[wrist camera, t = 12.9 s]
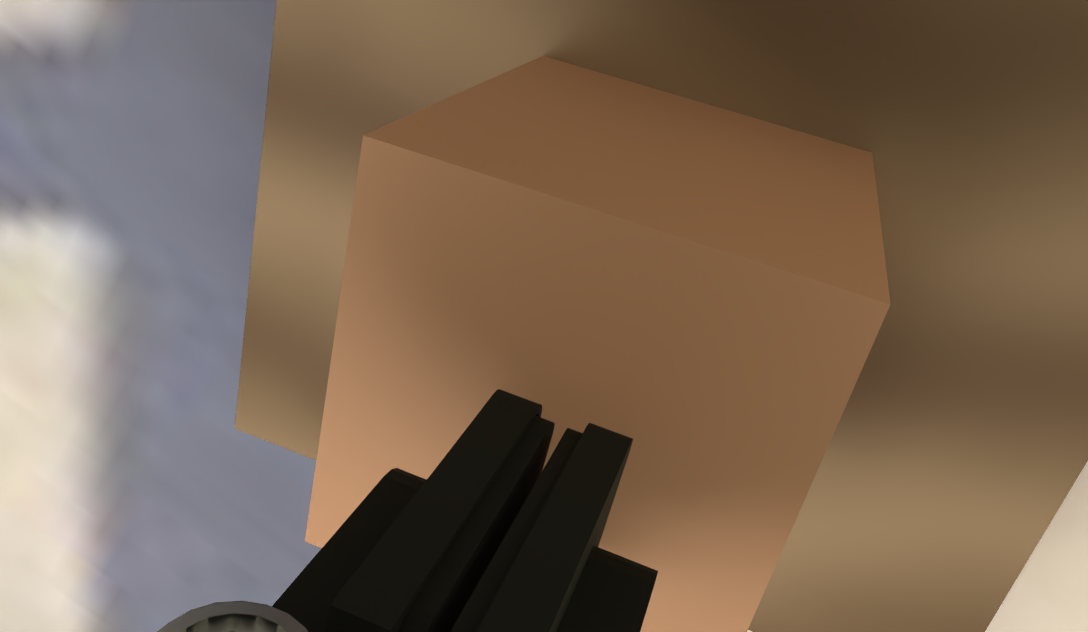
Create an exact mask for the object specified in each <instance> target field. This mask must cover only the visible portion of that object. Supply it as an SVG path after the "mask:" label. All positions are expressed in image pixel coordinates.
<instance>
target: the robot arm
mask: <svg viewBox="0 0 1088 632" xmlns="http://www.w3.org/2000/svg"><path fill="white" fill-rule="evenodd" d="M541 414H542V405H541V404H538V403H536V402H533V401H530V400H527V399H525V398H522V397H519V396H517V395H514V394H511V393H509V392H506V391H503V390H500V389H498V390H497V391H496V392H495V393H494V394H493V395H492V396H491V398H490V399H489V400H488V401H487V403H486V404H485V405H484V407H483V408H482V409H481V410H480V412H479V413H478V414H477V416H476V417H475V418H474V420H473V421H472V422H471V423H470V425H469V426H468V427H467V429H466V430H465V431H464V432H463V434H462V435H461V436H460V438H459V439H458V440H457V441H456V443H455V444H454V445H453V447H452V448H451V449H450V450H449V452H448V453H447V454H446V456H445V457H444V458H443V460H442V461H441V462H440V463H439V465H438V466H437V467H436V469H435V470H434V471H433V472H432V474H431V475H430V476H429V478H428V479H427V480H426V479H424V478H421V477H419V476H416V475H414V474H411V473H409V472H406V471H404V470H401V469H398V468H394V469H391V470H390V471H389V472H388V473H387V474H386V475H385V476H384V477H383V478H382V479H381V480H380V481H379V482H378V484H377V485H376V486H375V487H374V488H373V489H372V491H371V492H370V493H369V494H368V495H367V496H366V498H365V499H364V500H363V501H362V502H361V503H360V505H359V506H358V507H357V508H356V509H355V510H354V512H353V513H352V514H351V515H350V516H349V517H348V519H347V520H346V521H345V522H344V523H343V524H342V526H341V527H340V528H339V529H338V530H337V531H336V533H335V534H334V535H333V536H332V537H331V538H330V540H329V541H328V542H327V543H326V544H325V545H324V546H323V548H322V549H321V550H320V551H319V552H318V553H317V555H316V556H315V557H314V558H313V559H312V560H311V562H310V563H309V564H308V565H307V566H306V567H305V569H304V570H303V571H302V572H301V573H300V574H299V576H298V577H297V578H296V579H295V580H294V581H293V583H292V584H291V585H290V586H289V587H288V588H287V590H286V591H285V592H284V593H283V594H282V595H281V597H280V598H279V599H278V600H277V601H276V602H275V604H274V605H273V606H272V607H271V606H269V605H266V604H260V603H253V602H247V601H231V602H216V603H213V604H209V605H206V606H203V607H199V608H196V609H192V610H190V611H188V612H186V613H185V614H183V615H181V616H180V617H178V618H176V619H174V620H173V621H171V622H169V623H168V624H166V625H165V626H164V627H163V628H161V629H160V630H159V631H157V632H640V631H641V627H642V624H643V621H644V618H645V614H646V611H647V608H648V604H649V601H650V598H651V594H652V591H653V588H654V584H655V581H656V577H657V574H658V571H657V570H655V569H652V568H650V567H647V566H644V565H642V564H639V563H637V562H634V561H632V560H629V559H627V558H624V557H622V556H619V555H617V554H614V553H612V552H609V551H606V550H604V549H601V548H599V547H598V546H599V543H600V540H601V537H602V534H603V531H604V528H605V525H606V522H607V519H608V516H609V513H610V510H611V507H612V504H613V501H614V498H615V495H616V492H617V489H618V485H619V482H620V479H621V476H622V473H623V470H624V467H625V464H626V461H627V458H628V455H629V452H630V449H631V446H632V442H633V438H630V437H627V436H625V435H622V434H619V433H616V432H614V431H611V430H608V429H606V428H603V427H600V426H598V425H595V424H592V423H588V425H587V426H586V428H585V430H584V432H583V433H581V432H578V431H576V430H573V429H570V428H567V429H566V431H565V432H564V434H563V436H562V438H561V439H560V441H559V443H558V445H557V446H556V448H555V450H554V452H553V453H552V455H551V457H550V459H549V460H548V462H547V464H546V466H545V467H544V463H545V460H546V456H547V453H548V449H549V446H550V442H551V439H552V435H553V431H554V426H555V424H554V422H551V421H549V420H546V419H543V418H541ZM543 467H544V469H543ZM542 470H543V471H542Z"/></svg>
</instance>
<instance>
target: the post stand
mask: <svg viewBox="0 0 1088 632" xmlns="http://www.w3.org/2000/svg"><path fill="white" fill-rule="evenodd" d="M541 56H545V57H549V58H552V59H556V60H559V61H562V62H566V63H569V64H573V65H576V66H579V67H583V68H586V69H590V70H593V71H596V72H600V73H603V74H607V75H610V76H613V77H617V78H620V79H624V80H627V81H630V82H634V83H637V84H641V85H644V86H647V87H651V88H654V89H657V90H661V91H664V92H668V93H671V94H674V95H678V96H681V97H685V98H688V99H691V100H695V101H698V102H702V103H705V104H708V105H712V106H715V107H719V108H722V109H725V110H729V111H732V112H736V113H739V114H742V115H746V116H749V117H753V118H756V119H759V120H763V121H766V122H770V123H773V124H776V125H780V126H783V127H787V128H790V129H793V130H797V131H800V132H803V133H807V134H810V135H814V136H817V137H820V138H824V139H827V140H831V141H834V142H837V143H841V144H844V145H848V146H851V147H854V148H858V149H861V150H865V151H868V152H871V153H872V154H873V162H874V171H875V179H876V187H877V196H878V204H879V212H880V221H881V229H882V237H883V246H884V254H885V263H886V271H887V279H888V288H889V296H890V307H889V309H888V311H887V314H886V316H885V318H884V320H883V323H882V325H881V327H880V329H879V332H878V334H877V336H876V339H875V341H874V343H873V345H872V348H871V350H870V352H869V355H868V357H867V359H866V361H865V364H864V366H863V368H862V371H861V373H860V375H859V377H858V380H857V382H856V384H855V386H854V389H853V391H852V393H851V396H850V398H849V400H848V402H847V405H846V407H845V409H844V412H843V414H842V416H841V418H840V421H839V423H838V425H837V427H836V430H835V432H834V434H833V437H832V439H831V441H830V443H829V446H828V448H827V450H826V453H825V455H824V457H823V459H822V462H821V464H820V466H819V469H818V471H817V473H816V475H815V478H814V480H813V482H812V484H811V487H810V489H809V491H808V494H807V496H806V498H805V500H804V503H803V505H802V507H801V510H800V512H799V514H798V516H797V519H796V521H795V523H794V525H793V528H792V530H791V532H790V535H789V537H788V539H787V541H786V544H785V546H784V548H783V551H782V553H781V555H780V557H779V560H778V562H777V564H776V567H775V569H774V571H773V573H772V576H771V578H770V580H769V582H768V585H767V587H766V589H765V592H764V594H763V596H762V598H761V601H760V603H759V605H758V608H757V610H756V612H755V614H754V617H753V619H752V621H751V623H750V626H749V628H748V630H750V631H753V632H985V630H986V629H987V627H988V625H989V624H990V622H991V620H992V619H993V617H994V615H995V614H996V612H997V610H998V609H999V607H1000V605H1001V604H1002V602H1003V600H1004V599H1005V597H1006V595H1007V594H1008V592H1009V590H1010V589H1011V587H1012V585H1013V584H1014V582H1015V580H1016V579H1017V577H1018V575H1019V574H1020V572H1021V570H1022V569H1023V567H1024V565H1025V564H1026V562H1027V560H1028V559H1029V557H1030V555H1031V554H1032V552H1033V550H1034V549H1035V547H1036V545H1037V544H1038V542H1039V540H1040V539H1041V537H1042V535H1043V534H1044V532H1045V531H1046V529H1047V527H1048V526H1049V524H1050V522H1051V521H1052V519H1053V517H1054V516H1055V514H1056V512H1057V511H1058V509H1059V507H1060V506H1061V504H1062V502H1063V501H1064V499H1065V497H1066V496H1067V494H1068V492H1069V491H1070V489H1071V487H1072V486H1073V484H1074V482H1075V481H1076V479H1077V477H1078V476H1079V474H1080V472H1081V471H1082V469H1083V467H1084V466H1085V464H1086V462H1087V461H1088V0H277V2H276V13H275V23H274V33H273V43H272V53H271V63H270V74H269V84H268V94H267V104H266V114H265V124H264V135H263V145H262V155H261V165H260V175H259V185H258V196H257V206H256V216H255V226H254V236H253V247H252V257H251V267H250V277H249V287H248V297H247V308H246V318H245V328H244V338H243V348H242V358H241V369H240V379H239V389H238V399H237V409H236V419H235V429H238V430H240V431H243V432H245V433H248V434H250V435H253V436H255V437H258V438H261V439H263V440H266V441H268V442H271V443H273V444H276V445H278V446H281V447H284V448H286V449H289V450H291V451H294V452H296V453H299V454H301V455H304V456H306V457H309V458H312V459H314V460H317V454H318V447H319V440H320V433H321V426H322V419H323V412H324V405H325V398H326V391H327V384H328V377H329V370H330V363H331V356H332V349H333V342H334V335H335V328H336V321H337V314H338V307H339V300H340V293H341V286H342V279H343V272H344V265H345V258H346V251H347V244H348V237H349V230H350V223H351V216H352V209H353V202H354V195H355V188H356V181H357V174H358V167H359V160H360V153H361V146H362V139H363V135H365V134H367V133H369V132H372V131H374V130H376V129H378V128H381V127H383V126H385V125H388V124H390V123H392V122H394V121H397V120H399V119H401V118H403V117H406V116H408V115H410V114H412V113H415V112H417V111H419V110H421V109H424V108H426V107H428V106H431V105H433V104H435V103H437V102H440V101H442V100H444V99H446V98H449V97H451V96H453V95H455V94H458V93H460V92H462V91H464V90H467V89H469V88H471V87H473V86H476V85H478V84H480V83H483V82H485V81H487V80H489V79H492V78H494V77H496V76H498V75H501V74H503V73H505V72H507V71H510V70H512V69H514V68H516V67H519V66H521V65H523V64H526V63H528V62H530V61H532V60H535V59H537V58H539V57H541Z"/></svg>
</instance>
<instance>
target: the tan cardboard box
mask: <svg viewBox="0 0 1088 632" xmlns="http://www.w3.org/2000/svg"><path fill="white" fill-rule="evenodd" d="M889 307H890V296H889V288H888V279H887V271H886V263H885V254H884V246H883V237H882V229H881V221H880V212H879V204H878V196H877V187H876V179H875V171H874V162H873V154H872V153H871V152H868V151H865V150H861V149H858V148H854V147H851V146H848V145H844V144H841V143H837V142H834V141H831V140H827V139H824V138H820V137H817V136H814V135H810V134H807V133H803V132H800V131H797V130H793V129H790V128H787V127H783V126H780V125H776V124H773V123H770V122H766V121H763V120H759V119H756V118H753V117H749V116H746V115H742V114H739V113H736V112H732V111H729V110H725V109H722V108H719V107H715V106H712V105H708V104H705V103H702V102H698V101H695V100H691V99H688V98H685V97H681V96H678V95H674V94H671V93H668V92H664V91H661V90H657V89H654V88H651V87H647V86H644V85H641V84H637V83H634V82H630V81H627V80H624V79H620V78H617V77H613V76H610V75H607V74H603V73H600V72H596V71H593V70H590V69H586V68H583V67H579V66H576V65H573V64H569V63H566V62H562V61H559V60H556V59H552V58H549V57H545V56H541V57H539V58H537V59H535V60H532V61H530V62H528V63H526V64H523V65H521V66H519V67H516V68H514V69H512V70H510V71H507V72H505V73H503V74H501V75H498V76H496V77H494V78H492V79H489V80H487V81H485V82H483V83H480V84H478V85H476V86H473V87H471V88H469V89H467V90H464V91H462V92H460V93H458V94H455V95H453V96H451V97H449V98H446V99H444V100H442V101H440V102H437V103H435V104H433V105H431V106H428V107H426V108H424V109H421V110H419V111H417V112H415V113H412V114H410V115H408V116H406V117H403V118H401V119H399V120H397V121H394V122H392V123H390V124H388V125H385V126H383V127H381V128H378V129H376V130H374V131H372V132H369V133H367V134H365V135H363V139H362V146H361V153H360V160H359V167H358V174H357V181H356V188H355V195H354V202H353V209H352V216H351V223H350V230H349V237H348V244H347V251H346V258H345V265H344V272H343V279H342V286H341V293H340V300H339V307H338V314H337V321H336V328H335V335H334V342H333V349H332V356H331V363H330V370H329V377H328V384H327V391H326V398H325V405H324V412H323V419H322V426H321V433H320V440H319V447H318V454H317V461H316V468H315V475H314V482H313V489H312V496H311V503H310V510H309V517H308V524H307V531H306V538H305V541H306V542H308V543H310V544H313V545H315V546H318V547H320V548H323V546H324V545H325V544H326V543H327V542H328V541H329V540H330V538H331V537H332V536H333V535H334V534H335V533H336V531H337V530H338V529H339V528H340V527H341V526H342V524H343V523H344V522H345V521H346V520H347V519H348V517H349V516H350V515H351V514H352V513H353V512H354V510H355V509H356V508H357V507H358V506H359V505H360V503H361V502H362V501H363V500H364V499H365V498H366V496H367V495H368V494H369V493H370V492H371V491H372V489H373V488H374V487H375V486H376V485H377V484H378V482H379V481H380V480H381V479H382V478H383V477H384V476H385V475H386V474H387V473H388V472H389V471H390V470H391V469H394V468H398V469H401V470H404V471H406V472H409V473H411V474H414V475H416V476H419V477H421V478H424V479H426V480H427V479H428V478H429V476H430V475H431V474H432V472H433V471H434V470H435V469H436V467H437V466H438V465H439V463H440V462H441V461H442V460H443V458H444V457H445V456H446V454H447V453H448V452H449V450H450V449H451V448H452V447H453V445H454V444H455V443H456V441H457V440H458V439H459V438H460V436H461V435H462V434H463V432H464V431H465V430H466V429H467V427H468V426H469V425H470V423H471V422H472V421H473V420H474V418H475V417H476V416H477V414H478V413H479V412H480V410H481V409H482V408H483V407H484V405H485V404H486V403H487V401H488V400H489V399H490V398H491V396H492V395H493V394H494V393H495V392H496V391H497V390H498V389H500V390H503V391H506V392H509V393H511V394H514V395H517V396H519V397H522V398H525V399H527V400H530V401H533V402H536V403H538V404H541V405H542V414H541V418H543V419H546V420H549V421H551V422H554V424H555V426H554V431H553V435H552V439H551V442H550V446H549V449H548V453H547V456H546V460H545V463H544V467H545V466H546V464H547V462H548V460H549V459H550V457H551V455H552V453H553V452H554V450H555V448H556V446H557V445H558V443H559V441H560V439H561V438H562V436H563V434H564V432H565V431H566V429H567V428H570V429H573V430H576V431H578V432H581V433H583V432H584V430H585V428H586V426H587V425H588V423H592V424H595V425H598V426H600V427H603V428H606V429H608V430H611V431H614V432H616V433H619V434H622V435H625V436H627V437H630V438H633V442H632V446H631V449H630V452H629V455H628V458H627V461H626V464H625V467H624V470H623V473H622V476H621V479H620V482H619V485H618V489H617V492H616V495H615V498H614V501H613V504H612V507H611V510H610V513H609V516H608V519H607V522H606V525H605V528H604V531H603V534H602V537H601V540H600V543H599V546H598V547H599V548H601V549H604V550H606V551H609V552H612V553H614V554H617V555H619V556H622V557H624V558H627V559H629V560H632V561H634V562H637V563H639V564H642V565H644V566H647V567H650V568H652V569H655V570H657V571H658V574H657V577H656V581H655V584H654V588H653V591H652V594H651V598H650V601H649V604H648V608H647V611H646V614H645V618H644V621H643V624H642V627H641V631H640V632H747V630H748V628H749V626H750V623H751V621H752V619H753V617H754V614H755V612H756V610H757V608H758V605H759V603H760V601H761V598H762V596H763V594H764V592H765V589H766V587H767V585H768V582H769V580H770V578H771V576H772V573H773V571H774V569H775V567H776V564H777V562H778V560H779V557H780V555H781V553H782V551H783V548H784V546H785V544H786V541H787V539H788V537H789V535H790V532H791V530H792V528H793V525H794V523H795V521H796V519H797V516H798V514H799V512H800V510H801V507H802V505H803V503H804V500H805V498H806V496H807V494H808V491H809V489H810V487H811V484H812V482H813V480H814V478H815V475H816V473H817V471H818V469H819V466H820V464H821V462H822V459H823V457H824V455H825V453H826V450H827V448H828V446H829V443H830V441H831V439H832V437H833V434H834V432H835V430H836V427H837V425H838V423H839V421H840V418H841V416H842V414H843V412H844V409H845V407H846V405H847V402H848V400H849V398H850V396H851V393H852V391H853V389H854V386H855V384H856V382H857V380H858V377H859V375H860V373H861V371H862V368H863V366H864V364H865V361H866V359H867V357H868V355H869V352H870V350H871V348H872V345H873V343H874V341H875V339H876V336H877V334H878V332H879V329H880V327H881V325H882V323H883V320H884V318H885V316H886V314H887V311H888V309H889ZM544 467H543V469H544ZM542 471H543V470H542Z"/></svg>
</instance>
